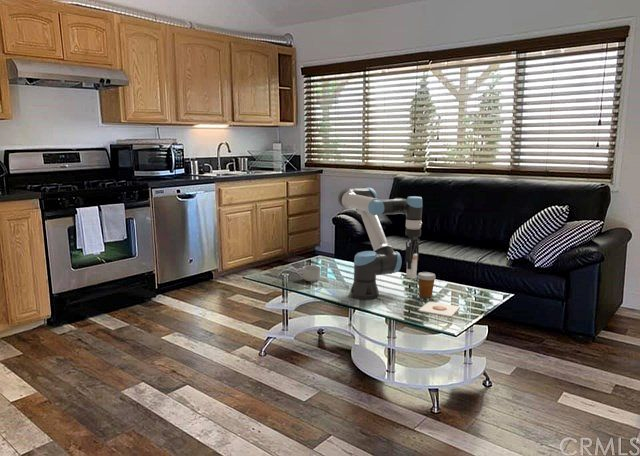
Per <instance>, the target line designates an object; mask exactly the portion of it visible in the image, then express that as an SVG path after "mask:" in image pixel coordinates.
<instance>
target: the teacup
mask: <svg viewBox="0 0 640 456" xmlns="http://www.w3.org/2000/svg"><path fill="white" fill-rule="evenodd" d="M321 269H322V267H320V266H318V265H313V264H312V265H311V264H310V265H309V264H308V265H304V266H302V268H301V267H299V268H297V270H296V273H297V275H299V276H300V277H301V278H303V279H304V280H305V281H307V282H311V283H312V282H314V283H315V282H317V281H318V280H319V279H320V278H321ZM300 271H301V272H302V273H300Z"/></svg>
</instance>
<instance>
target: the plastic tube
mask: <svg viewBox="0 0 640 456" xmlns="http://www.w3.org/2000/svg"><path fill="white" fill-rule="evenodd" d="M412 263H413V271H412V276H410V275H407V270H406V275H405V277H406V278H407V279H417V275H418V273H417V271H418V260H417V253H413V259H412Z"/></svg>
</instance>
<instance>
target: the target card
mask: <svg viewBox="0 0 640 456" xmlns="http://www.w3.org/2000/svg"><path fill="white" fill-rule="evenodd" d="M460 308H461V306H458V305H453V304H447V303H441V302H435V301H430V300H429V301H428V302H426V303H425V304H424V305H422V306H421V307H420V308H419V309H418V312H419V313H426V314H431V315H437V316H443V317H448V318H452V317H453V316H454V315H455V314H456V313H457V312H458V311H459V310H460Z"/></svg>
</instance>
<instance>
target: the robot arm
mask: <svg viewBox="0 0 640 456" xmlns="http://www.w3.org/2000/svg"><path fill="white" fill-rule="evenodd" d="M337 203H338V205H340V207H342V208H344V209H348V210H349V209H355V210H356V213H357V215H358V214H359V215H360V216H361V219H362V222H363V224H364V227H365V230H366V232H367V235H368V238H369V241H370V244H371V247H372V249H373V250H364V251H363V250H362V251H360V252H356V254H355V255H354V259H353V260H354V261H353V283H352V286H351V288H350V294H349V295H350V297H351V298H354V299H357V300H362V301H363V300H366V301H367V300H370V301H371V300H374V299H378V298H379V297H380V295H379V293H380V292H379V288H378V284H377V276H381V275H392V274H395V273H398V272H399V271H400V270H401V267H402V262H403V261H402V256H401V254H400V252H398V251H396V250H394V248H393V246H392V245H389V243H388V239H387V237H386V235H385V232H384V230H383V227H382V224H381V221H380V219H379V217H378V216H382V215H383V216H386V215H398V214H400V215H401V214H402V215H405V236H406V237H408V239H407V242H405V259H404V260H405V261H404V263H406V271H407V275H410V276H412V271H413V263H412V259H413V253H417V261H419V259H420V258H419V253H420V252H419V251H420V250H419V248H420V237H421V235H422V229H421V228H422V225H423V222H422V217H423V206H424V205H423V198H422V196H416V195H415V196H414V195H413V196H407V198H402V197H395V198H393V199H392V198H391V199H380V198H378V194H377V192H376V191H375V190H374V188H373V187H366V186H364V187H363V186H362V187H346V188H344V189H342V190H341V191H339V193H338V195H337Z"/></svg>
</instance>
